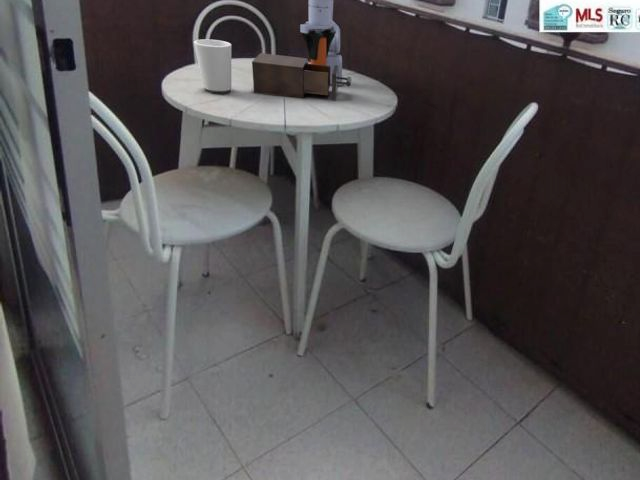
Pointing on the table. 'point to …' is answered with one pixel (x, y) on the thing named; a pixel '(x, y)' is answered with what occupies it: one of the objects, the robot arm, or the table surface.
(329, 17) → the robot arm
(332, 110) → the table surface
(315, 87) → the drawer
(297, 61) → the cabinet
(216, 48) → the cup
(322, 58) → the bottle
